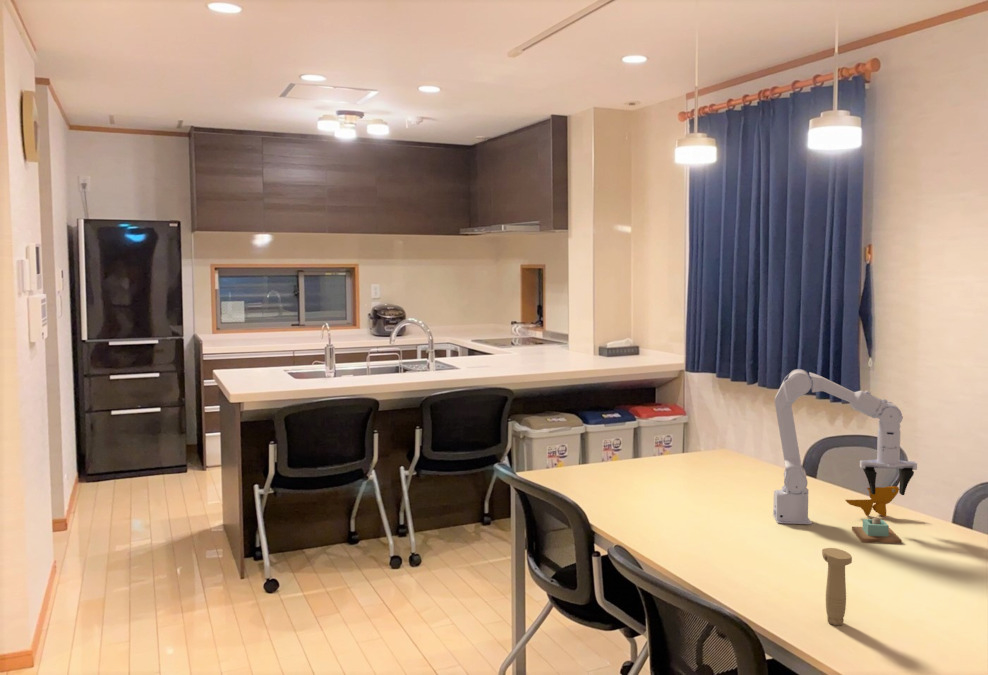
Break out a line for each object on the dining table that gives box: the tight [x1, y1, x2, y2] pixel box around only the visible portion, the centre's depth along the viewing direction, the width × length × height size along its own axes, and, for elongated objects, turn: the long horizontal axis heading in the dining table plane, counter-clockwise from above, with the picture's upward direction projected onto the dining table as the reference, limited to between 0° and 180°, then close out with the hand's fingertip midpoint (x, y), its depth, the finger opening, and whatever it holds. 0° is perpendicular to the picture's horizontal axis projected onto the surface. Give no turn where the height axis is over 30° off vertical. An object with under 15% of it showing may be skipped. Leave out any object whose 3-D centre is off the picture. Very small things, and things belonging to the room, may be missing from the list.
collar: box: [862, 518, 890, 536], centre depth 220 cm, size 5×5×3 cm
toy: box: [844, 485, 899, 518], centre depth 238 cm, size 3×16×10 cm, turn 89°
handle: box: [821, 547, 853, 626], centre depth 167 cm, size 5×6×15 cm
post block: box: [851, 517, 903, 544], centre depth 220 cm, size 10×10×5 cm
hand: (887, 493), depth 226 cm, fingers open, 7 cm apart
